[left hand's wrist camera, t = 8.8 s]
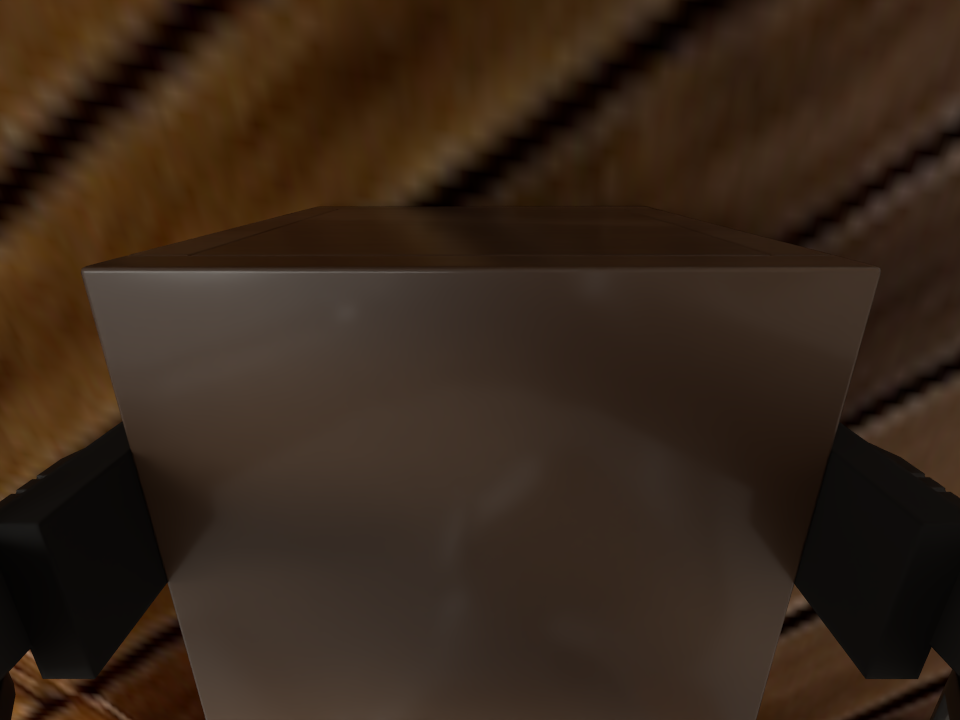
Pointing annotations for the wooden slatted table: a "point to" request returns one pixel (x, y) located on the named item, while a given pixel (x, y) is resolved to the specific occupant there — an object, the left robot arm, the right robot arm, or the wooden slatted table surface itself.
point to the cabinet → (481, 455)
